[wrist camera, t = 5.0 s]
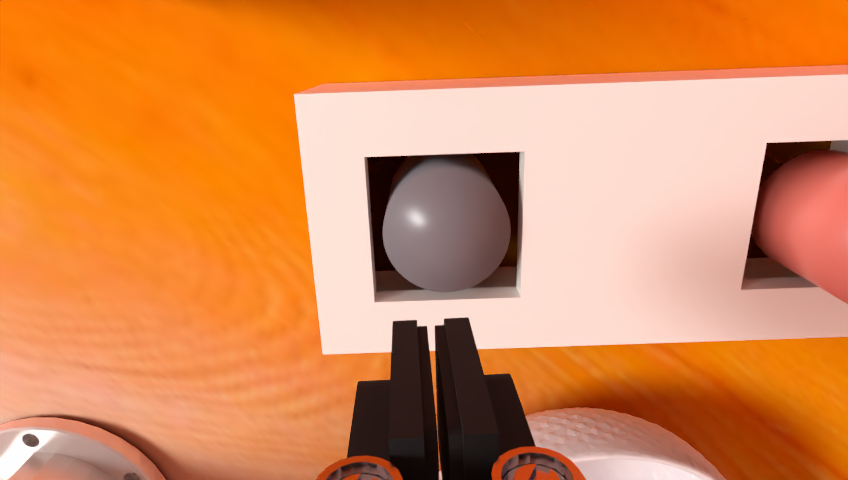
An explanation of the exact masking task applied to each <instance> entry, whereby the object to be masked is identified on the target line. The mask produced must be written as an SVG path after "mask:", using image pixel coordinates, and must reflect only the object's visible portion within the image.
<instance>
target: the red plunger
mask: <svg viewBox="0 0 848 480" xmlns="http://www.w3.org/2000/svg"><path fill="white" fill-rule="evenodd" d="M751 232H752V235H753V238H754V241H755V242H756V244H757V246H758V247H759V249H760V250H761V251H762V252H763V253H764V254H765V255H766V256H768V257H769V258H771V259H772V260H774V261H776V262H778V263H779V264H781V265H783V266H784V267H786V268H788V269H789V270H791V271H793V272H794V273H796V274H798V275H799V276H801V277H803V278H804V279H806V280H808V281H809V282H811V283H813V284H815V285H816V286H818V287H820V288H821V289H823V290H825V291H826V292H828V293H830V294H831V295H833V296H835V297H836V298H838V299H840V300H841V301H843V302H845V303H847V304H848V153H846V152H842V151H837V150H828V149H823V150H815V151H810V152H806V153H803V154H801V155H798V156H796V157H794V158H792V159H790V160H789V161H787V162H785V163H784V164H782V165H781V166H780V167H778V168H777V169H776V170H775V171H774V172H773V173H772V174H771V175H770V176H769V177H768V178H767V179H766V181H765V182H764V183H763V185H762V186H761V188H760V189H759V191H758V195H757V201H756V207H755V212H754V218H753V224H752V229H751Z"/></svg>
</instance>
